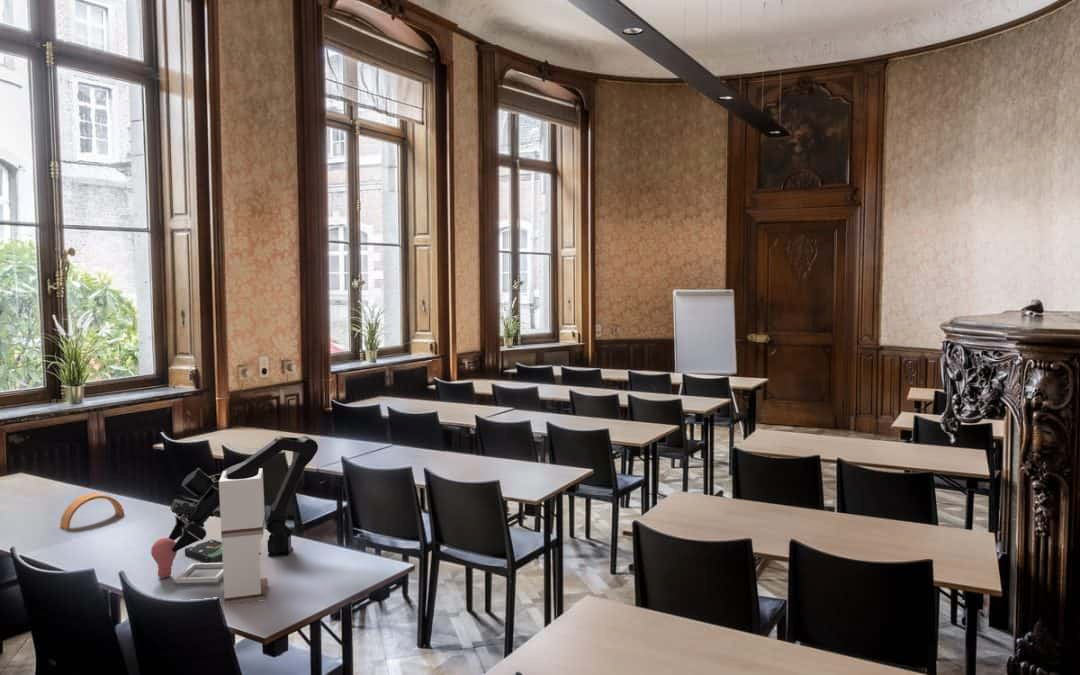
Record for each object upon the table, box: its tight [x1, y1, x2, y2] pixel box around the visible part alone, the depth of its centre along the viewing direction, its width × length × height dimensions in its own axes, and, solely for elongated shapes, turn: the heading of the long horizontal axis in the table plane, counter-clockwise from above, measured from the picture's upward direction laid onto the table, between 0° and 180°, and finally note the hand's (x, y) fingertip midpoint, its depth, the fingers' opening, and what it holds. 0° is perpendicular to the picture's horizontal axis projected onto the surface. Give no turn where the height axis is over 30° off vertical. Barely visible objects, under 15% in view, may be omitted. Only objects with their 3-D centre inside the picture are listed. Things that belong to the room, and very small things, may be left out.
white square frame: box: [175, 562, 224, 587], centre depth 233 cm, size 12×12×2 cm
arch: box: [59, 492, 125, 531], centre depth 285 cm, size 6×20×10 cm, turn 141°
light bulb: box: [150, 537, 178, 579], centre depth 233 cm, size 7×7×12 cm
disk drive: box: [184, 539, 223, 563], centre depth 251 cm, size 10×3×15 cm
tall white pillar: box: [219, 467, 269, 606], centre depth 219 cm, size 11×11×35 cm
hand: (170, 546), depth 233 cm, fingers open, 9 cm apart
